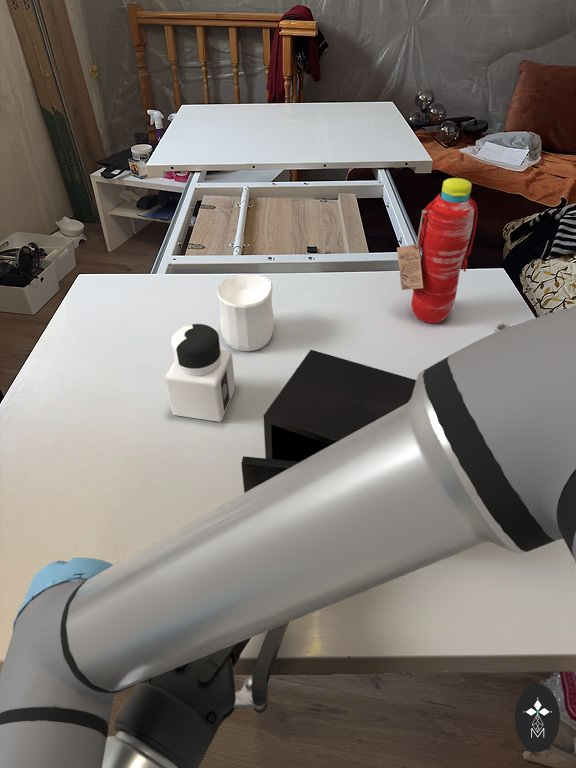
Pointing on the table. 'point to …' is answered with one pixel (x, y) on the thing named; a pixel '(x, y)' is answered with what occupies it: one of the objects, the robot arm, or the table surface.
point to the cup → (246, 311)
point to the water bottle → (439, 252)
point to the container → (199, 374)
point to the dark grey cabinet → (329, 405)
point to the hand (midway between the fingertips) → (281, 521)
